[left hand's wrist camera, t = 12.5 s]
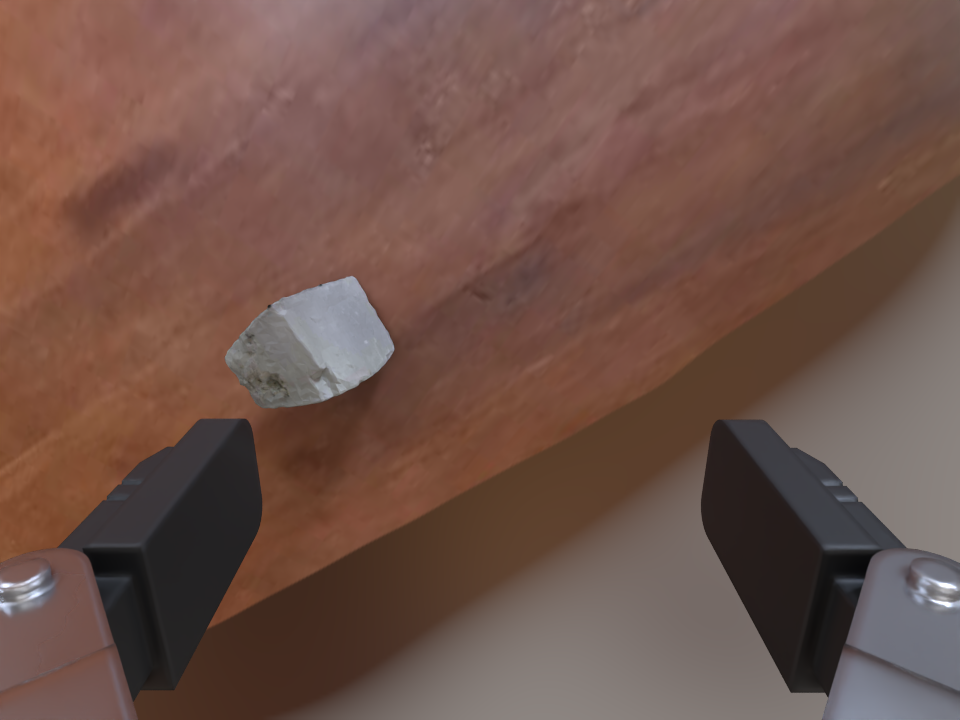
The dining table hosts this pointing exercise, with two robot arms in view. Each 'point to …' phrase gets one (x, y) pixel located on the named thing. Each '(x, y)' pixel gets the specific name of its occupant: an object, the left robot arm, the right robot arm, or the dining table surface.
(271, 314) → the mineral specimen
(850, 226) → the dining table surface
